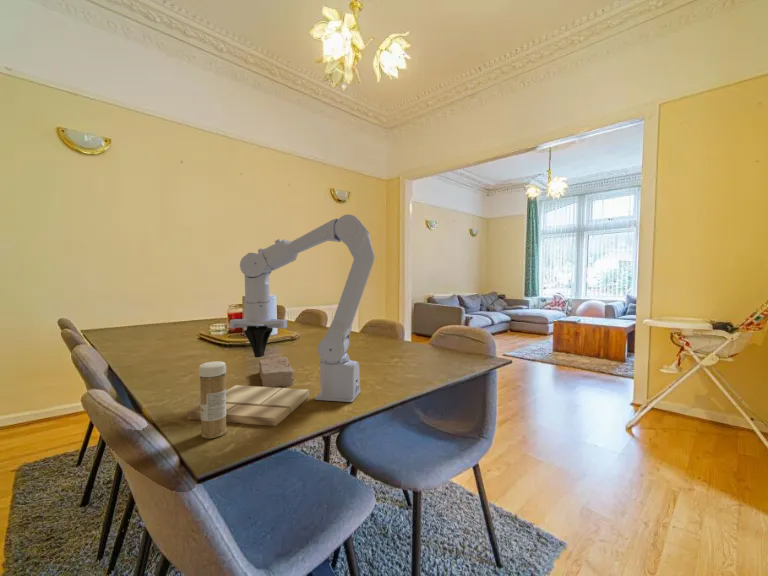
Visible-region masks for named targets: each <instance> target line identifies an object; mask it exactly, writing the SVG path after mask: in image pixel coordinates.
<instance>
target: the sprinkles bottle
mask: <svg viewBox="0 0 768 576" xmlns="http://www.w3.org/2000/svg"><path fill="white" fill-rule="evenodd" d="M226 373H227V365H226V363H225V362H224V361H217V360H216V361H208V362H204V363H202V364H200V365H198V376H199V379H200V380H199V383H200V386H199V387H200V396H199V398H200V401H199V403H200V404H199V405H200V408H201V420H200V422H201V423H200V424H201V425H200V426H201V428H200V436H201V437H202V438H203V439H214V438H219V437H221V436H223V435H225V434H226V433H227V431H228V428H227V422H226V390H227V388H226Z"/></svg>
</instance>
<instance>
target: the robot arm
mask: <svg viewBox="0 0 768 576" xmlns="http://www.w3.org/2000/svg"><path fill="white" fill-rule="evenodd" d="M371 239H372V238H371V234H370V233H369V230H368V229H367V227H366V226H365V225H364V224H363V222H362V221H361V220H360V219H359V218H358V217H357V216H355V215H353V214H344V215H342V216H340V217H339V218H334V219H331V220H329V221H328V222H326V223H324V224H322V225H320V226H318V227H316V228H314V229H313V230H311V231H309V232H307V233H306V234H303V235H301V236H298V237H297V238H296V239H295V238H294V240H291V241H290V240H288V239H285V238H284V239H280V238H277V239H275V241H274V244H272V245H269V246H267V247H265V248H259V249H257V251H258V252H257V253H256V252H248V253H246V254H245V255H243V257H242V258H241V260H240V262H239V268H240V271H241V273H242V274H243V275H244V294H245V295H244V299H245V301H244V302H245V318H237V319H235V318H234V319H230V320H229V329H236V328H246V329H245V330H243V333H244V334H243V335H244V336H246V339H247V340H248V341H249V344H250V345H251V346H250V347H251V349H252V351H253V355H254V357H255V358H258V359H259V358H262V357H264V356H265V352H266V351H265V350H266V347H267V343H268V341H269V338H270V336H271V334H272V332H273V330H274V329H287V328H288V320H287V319H279V318H278V319H277V318H276V319H275V318H271V302H270V301H271V300H270V299H271V297H270V274H272V272H274V271H276V270H278V269H280V268H282V267H285V266H287V265H289V264H290V263H292V262H293V263H294V262H295V261H296V260H297V258H298V256H299V253H301V252H304V251H307V250H310V249H311V248H313V247H316V246H319V245H320V244H323V243H326V242H336V243H338V242H339V243H342V242H343V244H345V246H346V247H347V249H348V251H349V252H350V254H351V256H352V259H353V261H352V264H351V266H350V270H349V273H348V276H347V279H346V281H345V285H344V287H343V290H342V293H341V296H340V298H339V302H338V305H337V307H336V309H335V312H334V316H333V319H332V322H331V324H330V325H329V326H328V327H329V328H328V329H327V332H326V334H325V336H324V337H323V338H322V339H321V340H320V341H319V343H318V345H317V353H318V355H319V359H320V360H319V364H320V365H319V367H320V369H319V374H320V375H319V378H320V392H319V393H318V394H317V395H316V396H315V397H314V400H315V401H330V402H344V403H353V402H354V400H355V399H356V398H357V397H358V395H359V394H360V393H361V381H360V380H361V377H360V375H361V371H360V370H361V369H360V363H359V362H358V361H356V360H351V359H350V356H349V354H348V350H349V348H350V345H351V339H350V337H351V335H350V334H351V331H352V326H353V322H354V321H355V317H356V314H357V311H358V309H359V305H360V303H361V300H362V297H363V293H364V291H365V288H366V286H367V283H368V281H369V280H368V279H369V277H370V275H371V271H372V269H373V268H372V267H373V266H374V263H375V260H376V259H375V258H376V256H375V255H376V254H375V251H374V247H373V243H372V240H371Z"/></svg>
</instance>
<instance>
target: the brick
mask: <svg viewBox="0 0 768 576" xmlns="http://www.w3.org/2000/svg"><path fill="white" fill-rule="evenodd" d="M258 373H259V377H260V380H262V381H261V385H262V386H261V387H274V388H280V387H279V386H283V387H290V386H289V385H291V386H294V384H295V383H294V381H295V378H294V377H295V376H294V374H295V371H294V368H293V367H292V366H291V365H290V361H289V358H288V357H286V356H279V357H278V356H277V357H274V358H272V357H271V358H266V359H260V360H259V372H258Z"/></svg>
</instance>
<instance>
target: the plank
mask: <svg viewBox="0 0 768 576" xmlns="http://www.w3.org/2000/svg"><path fill="white" fill-rule="evenodd" d="M309 397H310V389H307V388H306V389H305V388H286V387H263V386H255V385H237V384H235V385H234V386H232V387H230V388H228V389H226V402H235V403H249V404H263V405H277V406H290V414H292V413H294V411H296V409H297V408H298V407H299V406H300V405H301V404H303V403H304V402H305V401H306V400H307V399H308V398H309Z"/></svg>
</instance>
